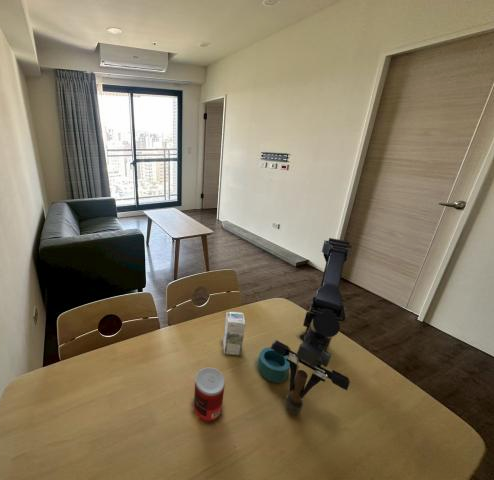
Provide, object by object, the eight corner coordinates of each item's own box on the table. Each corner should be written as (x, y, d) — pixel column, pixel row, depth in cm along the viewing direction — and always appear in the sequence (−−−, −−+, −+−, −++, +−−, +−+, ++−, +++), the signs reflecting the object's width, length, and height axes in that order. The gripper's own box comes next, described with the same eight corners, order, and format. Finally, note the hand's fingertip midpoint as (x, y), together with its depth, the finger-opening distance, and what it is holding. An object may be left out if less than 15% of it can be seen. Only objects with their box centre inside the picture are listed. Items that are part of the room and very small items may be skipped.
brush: (291, 398, 71) (300, 364, 66) (304, 410, 68) (314, 376, 63) (281, 405, 70) (290, 371, 65) (294, 418, 66) (304, 383, 61)
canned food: (223, 399, 72) (226, 371, 68) (218, 427, 65) (222, 398, 61) (197, 391, 75) (199, 363, 70) (190, 417, 68) (191, 388, 63)
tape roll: (270, 354, 88) (273, 343, 86) (293, 374, 80) (296, 363, 78) (251, 365, 83) (253, 353, 82) (273, 387, 76) (276, 375, 74)
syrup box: (238, 343, 92) (243, 311, 87) (240, 356, 87) (245, 323, 81) (222, 342, 93) (226, 310, 87) (224, 355, 87) (228, 321, 82)
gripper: (279, 316, 69) (255, 371, 65) (360, 354, 57) (336, 423, 54) (285, 325, 77) (263, 374, 74) (357, 359, 65) (335, 419, 62)
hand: (295, 394), depth 65 cm, fingers closed on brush, 2 cm apart
